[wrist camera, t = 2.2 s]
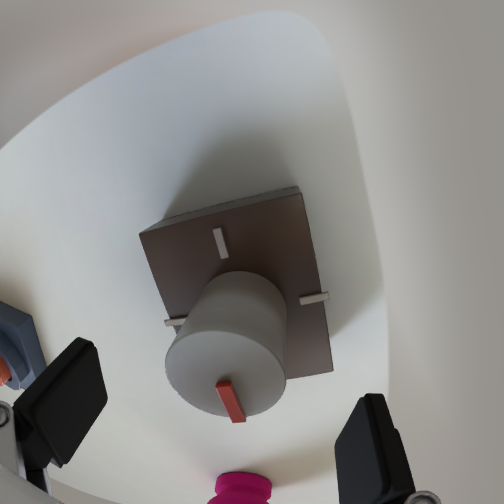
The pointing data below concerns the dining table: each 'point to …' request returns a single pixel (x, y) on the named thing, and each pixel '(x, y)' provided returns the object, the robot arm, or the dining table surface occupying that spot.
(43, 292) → the dining table surface
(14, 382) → the button box
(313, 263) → the dial panel
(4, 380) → the button
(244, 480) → the pepper mill
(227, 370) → the dial knob
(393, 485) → the robot arm
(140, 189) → the dining table surface
